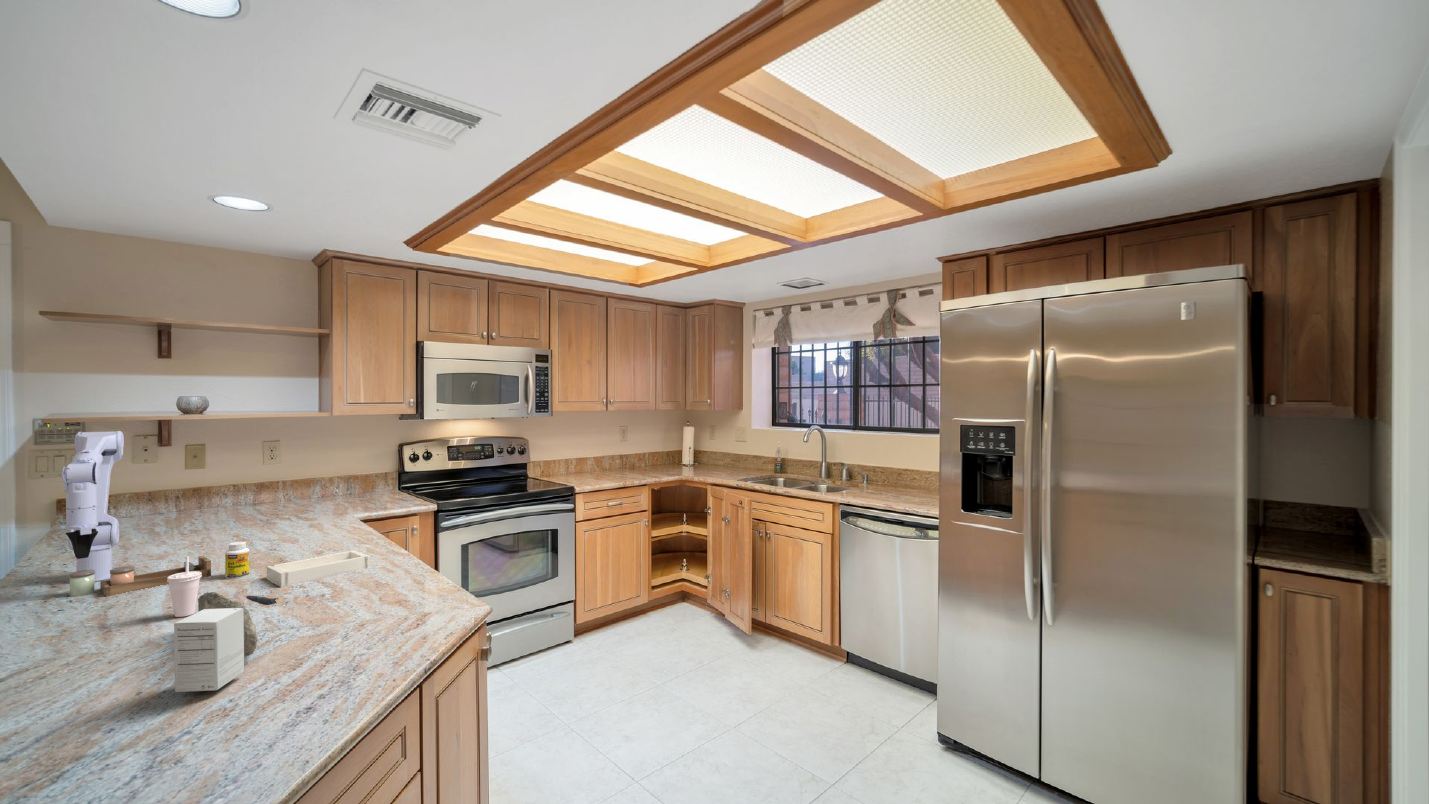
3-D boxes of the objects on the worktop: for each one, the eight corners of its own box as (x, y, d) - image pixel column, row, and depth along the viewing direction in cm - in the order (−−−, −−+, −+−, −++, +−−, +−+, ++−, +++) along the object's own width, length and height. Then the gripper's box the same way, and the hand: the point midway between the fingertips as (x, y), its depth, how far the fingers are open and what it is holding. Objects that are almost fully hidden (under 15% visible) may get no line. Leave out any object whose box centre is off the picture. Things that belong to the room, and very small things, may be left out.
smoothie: (208, 611, 147) (208, 555, 147) (177, 620, 141) (177, 561, 141) (191, 608, 149) (191, 552, 149) (160, 617, 143) (160, 559, 143)
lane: (100, 590, 163) (100, 572, 163) (202, 572, 180) (202, 555, 180) (106, 597, 158) (106, 578, 158) (210, 577, 175) (210, 560, 175)
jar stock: (108, 590, 163) (108, 569, 163) (132, 586, 167) (132, 565, 167) (111, 594, 160) (111, 572, 160) (136, 589, 164) (136, 568, 164)
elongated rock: (187, 630, 135) (187, 586, 135) (216, 623, 139) (216, 580, 139) (240, 670, 115) (240, 619, 115) (273, 661, 119) (273, 611, 119)
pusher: (184, 575, 176) (183, 562, 176) (192, 574, 177) (192, 560, 177) (189, 579, 172) (189, 565, 172) (198, 577, 174) (198, 564, 174)
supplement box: (204, 673, 113) (204, 608, 113) (245, 672, 114) (245, 606, 114) (172, 693, 106) (172, 622, 106) (216, 691, 106) (216, 621, 106)
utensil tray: (266, 580, 172) (266, 566, 172) (353, 562, 191) (353, 550, 191) (281, 588, 165) (281, 573, 165) (370, 569, 183) (370, 556, 183)
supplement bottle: (223, 581, 171) (223, 546, 171) (226, 576, 175) (226, 542, 175) (248, 578, 174) (248, 543, 174) (250, 573, 179) (250, 540, 179)
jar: (68, 594, 159) (67, 572, 159) (93, 590, 163) (93, 568, 163) (70, 598, 157) (70, 575, 157) (96, 593, 160) (96, 571, 160)
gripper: (56, 506, 161) (56, 556, 161) (63, 512, 152) (63, 565, 152) (93, 503, 167) (94, 551, 167) (102, 508, 158) (102, 559, 158)
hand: (82, 557), depth 160 cm, fingers closed
